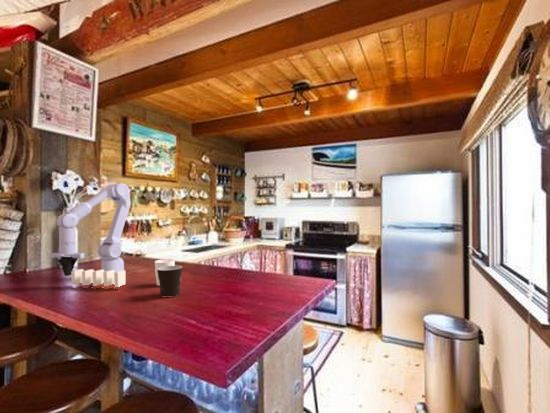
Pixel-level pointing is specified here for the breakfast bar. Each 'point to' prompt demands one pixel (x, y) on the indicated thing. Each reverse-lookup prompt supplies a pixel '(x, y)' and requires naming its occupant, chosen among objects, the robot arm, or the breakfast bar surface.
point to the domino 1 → (76, 276)
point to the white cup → (161, 264)
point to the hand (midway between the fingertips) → (68, 275)
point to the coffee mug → (169, 280)
